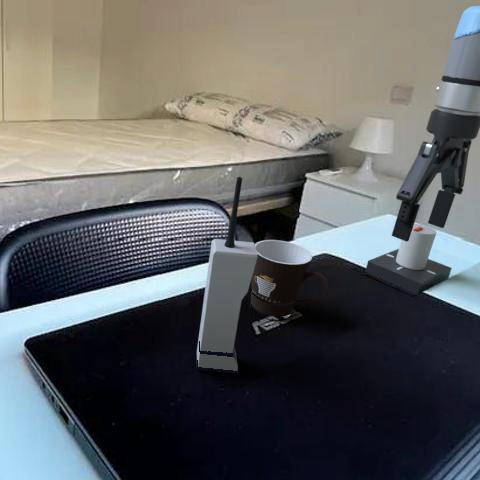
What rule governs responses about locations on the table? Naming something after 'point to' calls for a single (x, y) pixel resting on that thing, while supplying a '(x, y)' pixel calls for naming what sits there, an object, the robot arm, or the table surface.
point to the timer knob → (416, 248)
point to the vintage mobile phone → (225, 294)
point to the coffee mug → (281, 276)
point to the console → (408, 273)
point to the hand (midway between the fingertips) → (418, 231)
